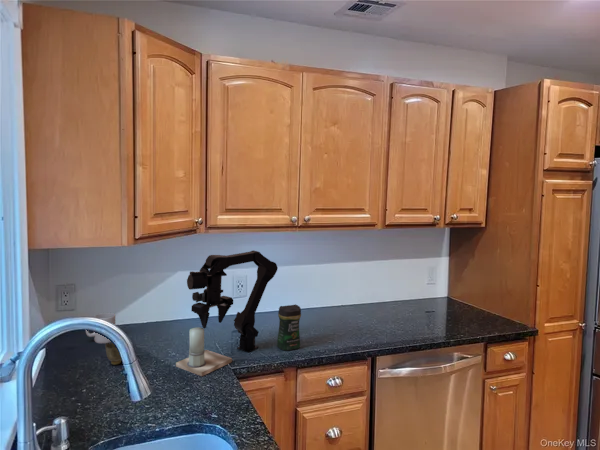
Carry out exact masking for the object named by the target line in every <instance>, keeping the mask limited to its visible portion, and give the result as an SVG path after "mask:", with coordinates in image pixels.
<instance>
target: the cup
mask: <svg viewBox="0 0 600 450" xmlns="http://www.w3.org/2000/svg"><path fill="white" fill-rule="evenodd" d="M104 346H105V347H104V348H105V353H106V357H107V359H108V360H109V361H110V364H111V365H112V366H118V365H120V364H121V363H122V359H121V357H120V355H119V352H118V350H117V348H116V347H115V345H114V344H113V343H112V342H108V343H105V344H104Z"/></svg>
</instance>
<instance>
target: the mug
mask: <svg viewBox="0 0 600 450" xmlns="http://www.w3.org/2000/svg"><path fill="white" fill-rule="evenodd" d="M94 317H96V318H100V319H103V320H106V321H108V322H111V323H113V324H115V325H116V314H115V313H114V312H113V313H112V312H101V313H98V314H95V315H94ZM85 334H86V336H87V337H88V338H94V339H93V340H94V342H95V343H96V344H106V343H108V342H109V343H112V342H111V341H110V340H109V339H107V338H106V337H104V336H102V335H100V334H98V333H95V332H94V331H93V332H92V333H90V331H89V330H88V331H87V330H86V329H85Z"/></svg>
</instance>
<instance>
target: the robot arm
mask: <svg viewBox="0 0 600 450" xmlns="http://www.w3.org/2000/svg"><path fill="white" fill-rule="evenodd" d="M252 262H253V263H254V264H255V265H256V266H257V269H256V281H255V283H254V284H253V285H254V286H253V287H252V290H251V293H250V295H249V297H248V300H247V302H246V304H245V307H244V309H243V310H242V311H241V312H239V311H237V313H236V316H235V318H234V319H233V321H234V322H233V326H234V329H235V330H237V333H238V334H240V335H239V346H237V347H236V349H237V350H239V351H243V352H245V353H250V352H252V351H254V350H256V349H258V348H259V347H258V345H256V338H257V337H258V336H259V333H260V332H259V330H258V329H256V328H255V323H256V315H255V314H256V312H257V310H258V307H259V305H260V302H261V300H262V298H263V295H264V293H265V290H266V287H267V286H268V283H269V282H271V280H272V279H273V278H274V277H275V275H276V273H277V272H278V265H277V263H276V262H274V261H272V260H270V259H269V258H267V257H266V256H265V255H263V254H262V253H261V252H260V251H257V250H251V251H246V252H241V253H235V254H229V255H222V254H210V255H208V256H207V258H206V260H205V261H204V263H203V264H202V266H201V268H200V269H199V271H189V275H188V277H187V279H186V285H187V288H188V290H198V289H200V290H201V289H204V290H203V292H202V293H200V292H199V291H195V292H192V294H191V295H192V297H191V298H192V302H195V303H194V304H192V305H191V312H192V313H194V314H196V315H197V316H198V318H199V320H200V323H201V326H202V327H201V328H203V329H206V328H207V325H208V321H209V317H210V312H209V311H210V308H215V307H217V312H218V313H217V316H218V317H217V318H218V323H221V324H222V322H223V320H224V319H225V316H226V315H227V313H228V311H229V310H230V308H231V307H232V306H233V305H234V298H233V297H231V296H226V295H222V294H223V293H224V289H222V280H223V279H222V277H225V276H227V273H226V272H225V270H226V269H228V268H229V267H232V266H235V265H240V264H241V265H242V264H246V263H252Z"/></svg>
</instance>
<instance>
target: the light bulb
mask: <svg viewBox="0 0 600 450" xmlns="http://www.w3.org/2000/svg"><path fill="white" fill-rule="evenodd" d="M188 334H189V351H188V357H189V365H191V366H201V365H203V364H204V353H205V350H206V349H205V328H203V327H193V328H190V329H189V333H188Z"/></svg>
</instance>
